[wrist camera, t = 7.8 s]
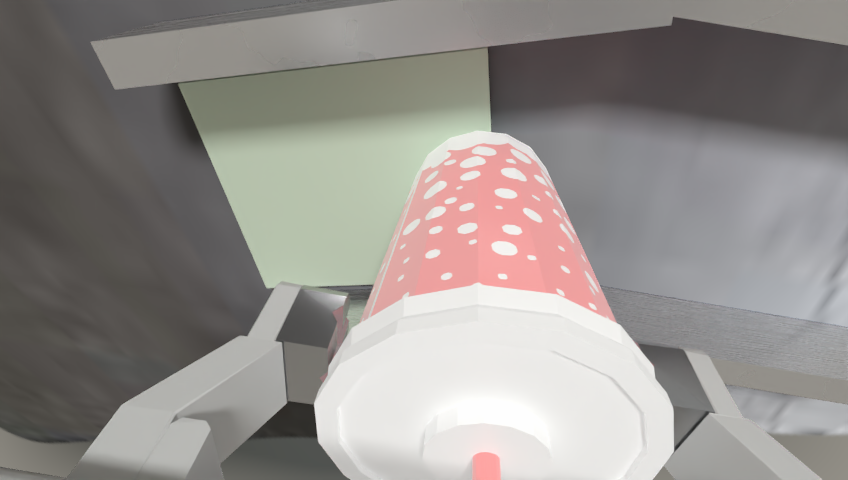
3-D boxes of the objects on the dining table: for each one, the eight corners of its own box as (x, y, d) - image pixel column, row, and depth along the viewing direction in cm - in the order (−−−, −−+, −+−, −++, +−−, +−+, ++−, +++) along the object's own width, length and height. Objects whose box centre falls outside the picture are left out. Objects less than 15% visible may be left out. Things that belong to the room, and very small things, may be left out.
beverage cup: (485, 291, 17) (504, 976, 6) (357, 201, 16) (36, 940, 4) (614, 187, 14) (1160, 1190, 3) (474, 62, 13) (467, 1400, 1)
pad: (487, 45, 13) (487, 48, 13) (497, 274, 18) (497, 280, 18) (184, 80, 15) (177, 84, 14) (270, 282, 20) (266, 288, 19)
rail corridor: (1201, 37, 11) (1401, 67, 9) (808, 400, 20) (852, 463, 18) (127, -139, 11) (31, -158, 9) (215, 300, 21) (180, 350, 18)
